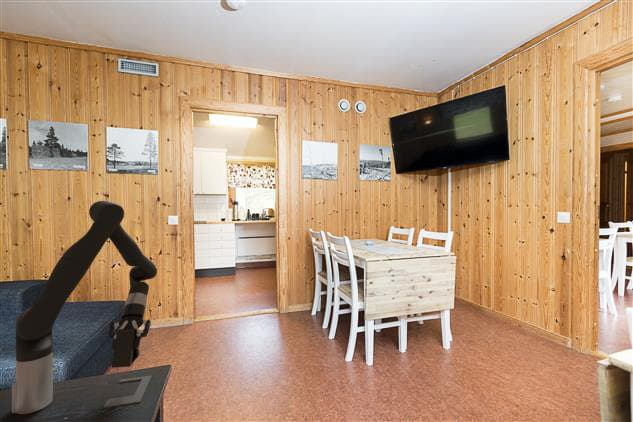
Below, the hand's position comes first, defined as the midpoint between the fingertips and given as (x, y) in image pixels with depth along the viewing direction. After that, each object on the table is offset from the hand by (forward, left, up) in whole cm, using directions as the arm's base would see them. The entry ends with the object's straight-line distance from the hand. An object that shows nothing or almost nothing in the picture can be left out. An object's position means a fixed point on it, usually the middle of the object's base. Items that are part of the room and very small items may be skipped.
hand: (125, 349), depth 110 cm
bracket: (+2, 0, -16) cm, 16 cm away
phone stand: (0, +2, -6) cm, 6 cm away
